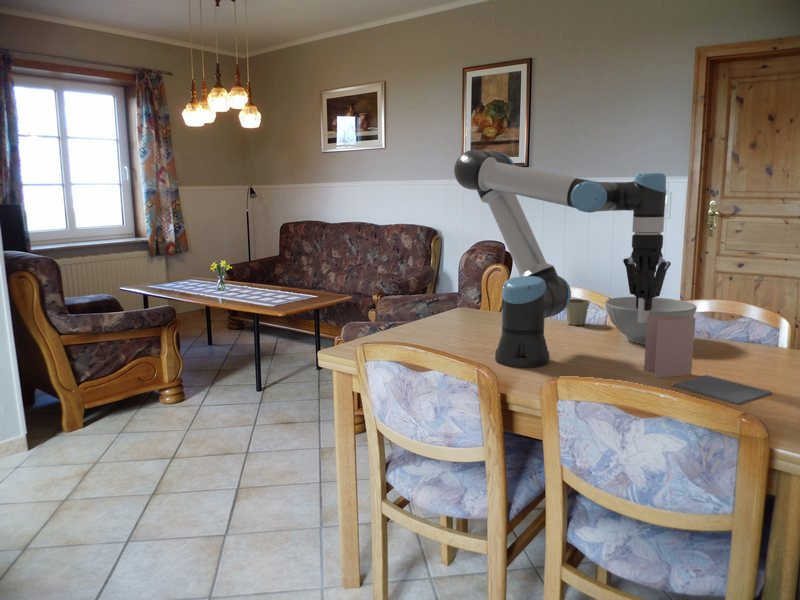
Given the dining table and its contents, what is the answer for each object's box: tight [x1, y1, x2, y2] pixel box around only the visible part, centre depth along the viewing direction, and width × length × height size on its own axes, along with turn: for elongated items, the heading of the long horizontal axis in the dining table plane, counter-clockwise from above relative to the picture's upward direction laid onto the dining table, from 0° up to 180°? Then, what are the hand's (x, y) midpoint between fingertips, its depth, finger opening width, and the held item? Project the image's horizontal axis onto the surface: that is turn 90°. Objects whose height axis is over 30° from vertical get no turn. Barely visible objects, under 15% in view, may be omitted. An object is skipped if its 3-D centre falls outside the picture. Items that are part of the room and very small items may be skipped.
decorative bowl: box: [604, 296, 698, 345], centre depth 189 cm, size 27×27×12 cm
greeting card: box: [643, 315, 696, 379], centre depth 152 cm, size 11×7×15 cm, turn 71°
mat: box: [672, 374, 773, 406], centre depth 142 cm, size 14×16×1 cm
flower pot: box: [565, 298, 591, 326], centre depth 215 cm, size 9×9×9 cm
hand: (642, 321), depth 159 cm, fingers closed
